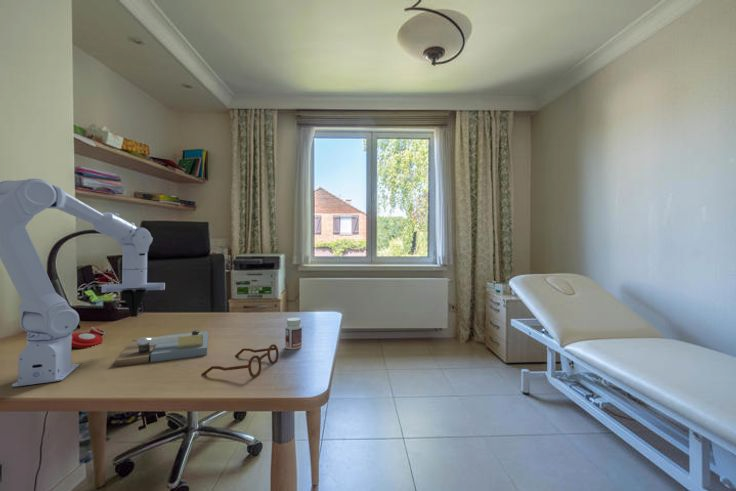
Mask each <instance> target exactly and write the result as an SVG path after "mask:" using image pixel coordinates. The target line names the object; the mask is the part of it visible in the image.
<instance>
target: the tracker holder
mask: <svg viewBox="0 0 736 491" xmlns="http://www.w3.org/2000/svg"><path fill="white" fill-rule="evenodd" d="M105 335H106V333H105V330H104V329H101V328H96V327H94V326H91V327H90V329H89V331H87V332H75V333H72V344H71V348H72V347H73V348H76V349H88V348H87V347H89V348H93V347H92V346H94V347H96V346H95V345H97V346H99V345H101V344H102V343H103V340H104V339H103V336H105ZM98 344H99V345H98Z"/></svg>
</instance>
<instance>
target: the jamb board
mask: <svg viewBox="0 0 736 491" xmlns="http://www.w3.org/2000/svg"><path fill="white" fill-rule="evenodd" d="M155 346H156V345H150V346H147V347H137V339H133V340H132V341H130V343H129V344H128V345H127V347H126V348H125V349H124V350H123V351H122V352H121V353H120V355H119V356H118V357H117V358H115V362H114V366H115V368H116V367H122V366H124V367H125V366H129V365H130V366H131V365H137V364H138V365H139V364H145V363H146V364H147V363H149V362H151V353H152V351H153V350H154V348H155Z"/></svg>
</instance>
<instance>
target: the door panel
mask: <svg viewBox="0 0 736 491" xmlns="http://www.w3.org/2000/svg"><path fill="white" fill-rule="evenodd" d="M199 333H200V334H203V346H196V347H187V348H178V342H175V343H166V344H157V345H156V346H155V348H154V350H153V351H152V353H151V359H150V363H153V362H162V361H169V360H176V359H185V358H194V357H200V356H207V355H208V345H209V333H210V332H209V330H205V331H199ZM182 334H192V332H185V333H176V334H167V335H166V334H164V335H161V336H160V337H162V336H172V335H182Z"/></svg>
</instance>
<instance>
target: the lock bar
mask: <svg viewBox="0 0 736 491" xmlns="http://www.w3.org/2000/svg"><path fill="white" fill-rule="evenodd" d="M199 332H200V330H196V329H195V330H192V331H191V333H192V334H184V333H181V334H182V335H173V334H171V335H172V336H163V335H161V336H162V337H161V336H154V337H153V336H144V337H143V336H142V337H139V338H137V339H136V340H137V347H147V346H150V345H157V344H166V343H175V342H178V337H179V336H188V335H198V334H200V333H199Z"/></svg>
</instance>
